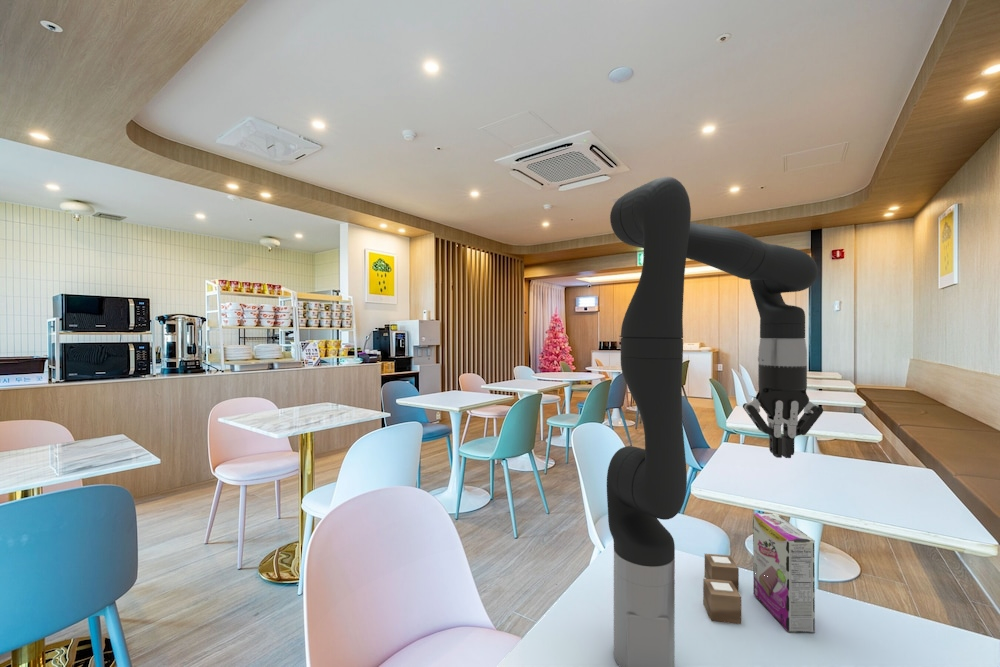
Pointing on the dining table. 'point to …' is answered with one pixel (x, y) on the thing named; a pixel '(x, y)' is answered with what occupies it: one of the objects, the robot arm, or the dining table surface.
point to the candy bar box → (784, 572)
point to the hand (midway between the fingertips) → (781, 456)
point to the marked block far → (721, 568)
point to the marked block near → (722, 601)
